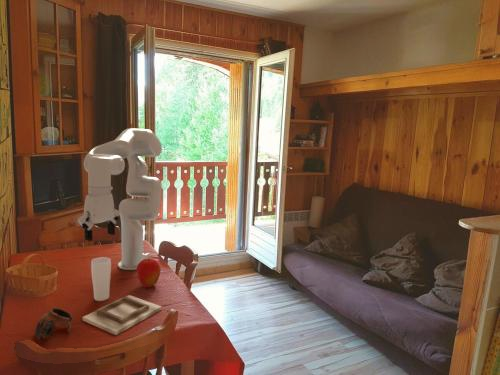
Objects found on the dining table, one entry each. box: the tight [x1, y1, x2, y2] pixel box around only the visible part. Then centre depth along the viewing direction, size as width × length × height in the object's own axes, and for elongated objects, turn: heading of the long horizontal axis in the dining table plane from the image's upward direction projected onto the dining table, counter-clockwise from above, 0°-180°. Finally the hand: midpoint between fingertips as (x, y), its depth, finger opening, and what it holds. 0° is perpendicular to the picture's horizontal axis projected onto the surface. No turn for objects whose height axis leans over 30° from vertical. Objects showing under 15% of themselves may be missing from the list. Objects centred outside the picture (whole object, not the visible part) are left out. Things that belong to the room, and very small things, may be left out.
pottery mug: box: [34, 307, 73, 340], centre depth 113 cm, size 12×10×8 cm
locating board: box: [82, 294, 162, 336], centre depth 126 cm, size 20×16×3 cm
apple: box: [136, 257, 162, 288], centre depth 149 cm, size 9×9×12 cm
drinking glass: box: [90, 256, 112, 302], centre depth 136 cm, size 7×7×15 cm
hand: (100, 237), depth 134 cm, fingers open, 9 cm apart
